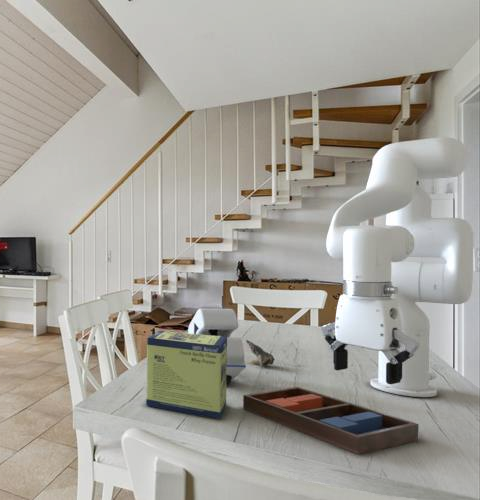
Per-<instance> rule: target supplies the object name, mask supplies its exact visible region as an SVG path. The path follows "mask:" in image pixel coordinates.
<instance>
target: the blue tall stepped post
mask: <svg viewBox="0 0 480 500" xmlns="http://www.w3.org/2000/svg"><path fill="white" fill-rule="evenodd" d="M319 421H320V422H323V423H325V424H328V425H331V426H334V427H336V428H339V429H342V430H345V431H347V432H350V433H353V434H356V435H359V433H360V432H365V431H369V430H374V429H379V428H382V415H378V414H375V413H372V412H364V413H359V414H354V415H349V416H344V417H342V418H340V417H332V418H327V419H322V420H319Z"/></svg>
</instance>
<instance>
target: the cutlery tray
mask: <svg viewBox="0 0 480 500" xmlns="http://www.w3.org/2000/svg"><path fill="white" fill-rule="evenodd" d="M308 394H314V395H317V396H321V397H323V408H318V409H312V410H306V411H301V412H292V411H290V410H287V409H284V408H281V407H279V406H276V405H273V404H270V403H268V402H266V401H267V400H273V399H279V398H284V399H286V398H290V397H296V396H302V395H308ZM242 397H243V398H242V409H243V410H245V411H248V412H250V413H253V414H255V415H258V416H260V417H262V418H265V419H267V420H270V421H272V422H274V423H278V424H281V425H282V426H285V427H288V428H289V429H292V430H295V431H298V432H299V433H302V434H305V435H307V436H310V437H312V438H315V439H318V440H320V441H323V442H325V443H327V444H330V445H333V446H335V447H338V448H340V449H342V450H345V451H347V452H350V453H353V454H355V455H358V456H359V455H363V454H367V453H371V452H375V451H380V450H384V449H388V448H392V447H397V446H401V445H405V444H408V443H413V442H417V441H419V423H417V422H414V421H410V420H407V419H404V418H401V417H397V416H393V415H390V414H387V413H384V412H381V411H378V410H375V409H371V408H369V407H365V406H361V405H359V404H356V403H352V402H348V401H345V400H342V399H339V398H335V397H332V396H329V395H325V394H323V393H319V392H316V391H312V390H310V389H306V388H303V387H300V386H294V387H293V386H292V387H287V388H280V389H276V390H275V389H274V390H267V391H261V392H254V393H247V394H243V395H242ZM364 412H372V413H375V414H378V415H382V428H379V429H374V430H369V431H365V432H360V433H359V435H356V434H353V433H350V432H347V431H345V430H342V429H339V428H336V427H334V426H331V425H328V424H325V423H323V422H320V421H319V420H322V419H327V418H332V417H340V418H342V417H344V416H349V415H354V414H359V413H364Z"/></svg>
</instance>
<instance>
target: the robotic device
mask: <svg viewBox="0 0 480 500" xmlns="http://www.w3.org/2000/svg"><path fill="white" fill-rule="evenodd" d="M237 317H238V316H237V313H236V311H235V310H234V309H233V308H217V307H216V308H213V307H212V308H208V307H207V308H206V307H205V308H204V307H201V308H198V309H197V310H196V313H195V314H194V316H193V318H192V319H191V321H190V323H189V325H188V329H187V333H190V334H201V335H211V336H223V337H227V375H226V386H228V385H230V383H231V382H232V381H234V380H235V379H236V378H237V377H238V376H239V375H240V374H241V373H242V372H243V371H244V370H245V369H246V367H247V365H246V362H245V350H244V345H243V339H242V338H241V337H231V335H232V333H233V332H234V331H236V330H237V329H239V321H238V318H237Z"/></svg>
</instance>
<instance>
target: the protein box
mask: <svg viewBox="0 0 480 500" xmlns="http://www.w3.org/2000/svg"><path fill="white" fill-rule="evenodd" d="M226 375H227V337H223V336H211V335H201V334H190V333H188V332H178V331H170V330H158V331H156V332H154V333H153V334H151V335H150V336H148V337H147V338H146V396H145V397H146V398H145V405H146V406H147V407H151V408H152V407H153V408H158V409H161V410H168V411H172V412H177V413H178V412H179V413H184V414H188V415H194V416H199V417H205V418H211V419H215V420H220V419H221V417H222V415H223V413H224V411H225V409H226V406H227V385H226Z"/></svg>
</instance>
